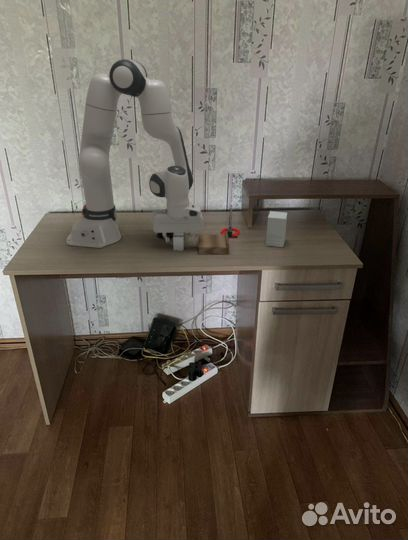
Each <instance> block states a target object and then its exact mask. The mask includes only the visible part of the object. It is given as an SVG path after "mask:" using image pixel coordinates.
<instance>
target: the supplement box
mask: <svg viewBox="0 0 408 540" xmlns="http://www.w3.org/2000/svg"><path fill="white" fill-rule="evenodd" d="M287 220H288V212H284V211H273V210H269V213H268V216H267V221H266V222H267V223H266V224H267V225H266V237H265V239H266V241H265V246H268V247H276V248H284V246H285V242H286V231H287V222H288V221H287Z"/></svg>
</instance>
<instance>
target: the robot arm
mask: <svg viewBox="0 0 408 540" xmlns="http://www.w3.org/2000/svg"><path fill="white" fill-rule="evenodd" d="M144 66H145V65H143V64H142V63H141V62H140V61H137V60H135V59H132V58H126V59H124V58H123V59H119V60H117V61H115V62H114V63H113V64H112V66H111V68H110V70H109V73H96V74H94V75H93V76H92V77H91V79H90V82H89V84H88V88H87V93H86V98H85V106H84V113H83V114H84V115H83V121H82V133H81V140H80V150H79V157H78V167H79V171H80V172H79V173H80V178H81V183H82V187H83V194H84V200H85V203H84V205H83V207H82V210H81V217H79V218H78V219H77V220H76V221H75V222H74V223H73V225H72V226H71V231H70V234H69V235H67V238H66V244H67V245H68V246H73V247H86V248H97V249H101V248H104V247H106V246H109V245H112V244H114V243H117V242H119V241H120V240H121V239H122V234H121V232H120V229H119V226H118V221H117V218H118V216H117V209H116V205H115V203H114V201H115V200H114V194H113V185H112V184H113V183H112V176H111V168H110V151H111V145H112V140H113V135H114V130H115V129H114V128H115V125H116V124H115V123H116V118H117V117H116V116H117V110H118V103H119V99H120V96H121V95H122V94H123V95H126V96H131V97H134V98H137V100H138V103H139V106H140V107H139V108H140V116H141V124H142V128H143V129H144V131H145V132H146V133H147V134H148V135H149V137H152V138H153V139H155V140H156V139H157V140H160V141H163V142H165V143H167V144H168V145H169V147H170V150H171V154H172V158H173V163H174V165H171V166H168V167H167V168H166V169H164V170H162V171H157V172H155V173H152V174H151V176H150V178H149V181H148V185H149V190H150V192H151V193H152V194H153V195H154V196H156V197H158V198H162V199H163V198H165V199H166V208H165V209H155V210H153V211H152V212H151V219H152V220H153V223H152V230H153V232H154V233H155V234H157V233H162V235H163V236H164V238H165V239H164V240H165V243H170V238H169V237H167V235H168V234H171V233H182V232H184V233H191V235H190V236H189V237H188V242H189V243H193V242H194V237H195V236H196V233H203V232H204V230H205V223H204V217H203V214H202V209H201V207H200V205H199V204H194V203H191V202H190V199H189V193H190V191H191V189H192V186H193V183H194V175H193V173H192V170H191V168H190V165H189V160H188V156H187V152H186V151H187V150H186V146H185V142H184V138H183V135H182V132H181V129H180V127H179V126H178V125H176V124H175V121H174V118H173V115H172V107H171V100H170V95H169V91H168V87H167V85H166V84H165V83H164V82H163V81H162V80H160V79H152V78H151V79H150V78H148V73H147V70H146V68H145V67H144ZM166 233H168V234H167V235H166Z"/></svg>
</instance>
